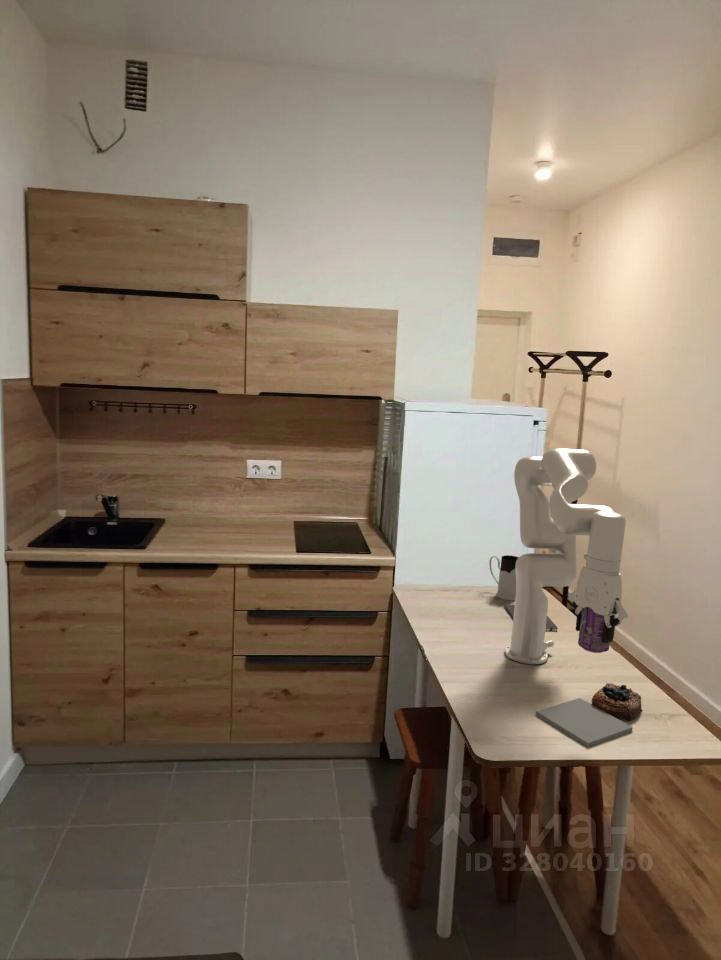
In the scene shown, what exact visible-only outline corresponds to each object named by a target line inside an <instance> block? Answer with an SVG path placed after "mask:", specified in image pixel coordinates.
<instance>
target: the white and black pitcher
mask: <svg viewBox="0 0 721 960" xmlns="http://www.w3.org/2000/svg"><path fill="white" fill-rule="evenodd" d="M519 557H520V556H516V555H511V554H510V555H502V556H501V560H500V558H499V557H497V556H495V555H493V556H491V557H490V559H489V570H490V574H491V576H492V578H493V579H494V581H495V583H496V584H497V592H496V593H495V596H496V597H497V598H499V599H503V600H506V601H515V598H516V571H515V566H516V561H517V559H518V558H519ZM493 558H496V560H497V568H498V569H499V575H498V580H497V577H496V576H495V575H494V572H493V569H492V560H493Z"/></svg>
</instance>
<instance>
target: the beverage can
mask: <svg viewBox="0 0 721 960" xmlns="http://www.w3.org/2000/svg"><path fill="white" fill-rule="evenodd" d="M609 617H610V620H611V616H609ZM604 626H606V623H605V620H604V616H601V615H598V614H596V613H595V612H594V611H593V610H592V609H591V608H590V607H585V608H582V615H581V623H580V631H578V632H579V633H578V639H577V644H578V646H579V647H581V648H582V649H583V650H585V651H587V652H590V653H594V654H601V653H606V652H608V651H609V650H610V646H611V645H610V644H611V642H608V643H603V642H602V635H603V628H604Z"/></svg>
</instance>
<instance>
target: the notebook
mask: <svg viewBox="0 0 721 960" xmlns="http://www.w3.org/2000/svg"><path fill="white" fill-rule="evenodd" d="M503 605H504V606H503V608H504V609H505V611H506V610H507V611H506V612H507V613H508V614H509V616H510V617H511V619H512V620H513V618H514V609H515V604H503ZM558 629H559V627H558V626H557V624H555V623H554V622H553V621H552V619H551V618H550V617H549V616H548V615H547V620H546V629H545V632H558Z"/></svg>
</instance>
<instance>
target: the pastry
mask: <svg viewBox="0 0 721 960" xmlns="http://www.w3.org/2000/svg"><path fill="white" fill-rule="evenodd" d="M591 704H592V705H594V706H595V707H597V708H599V709H601V710H603V711H604V712H606V713H608V714H610V715H612V716H613V717H615V718H618V719H619V720H621V719H622V720H621V721H625V722H626V721H627V722H631V721H633V720H634V719H635V718H636V717H637V716H638V715H639V714H640V712H643V709H642V696H641V695H640V694H639V693H638V692H635V691H633V689H632V688H631V687H630V688H627V685H626V684H622V685H616V684H614V683H612V682H611V683H610V682H609V683H608V682H607V683H606V684H605V685H604V686H603V687H602V688H600V689H599V690H598V691H596V692H595V693H594V694H593V696H592V698H591Z"/></svg>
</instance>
